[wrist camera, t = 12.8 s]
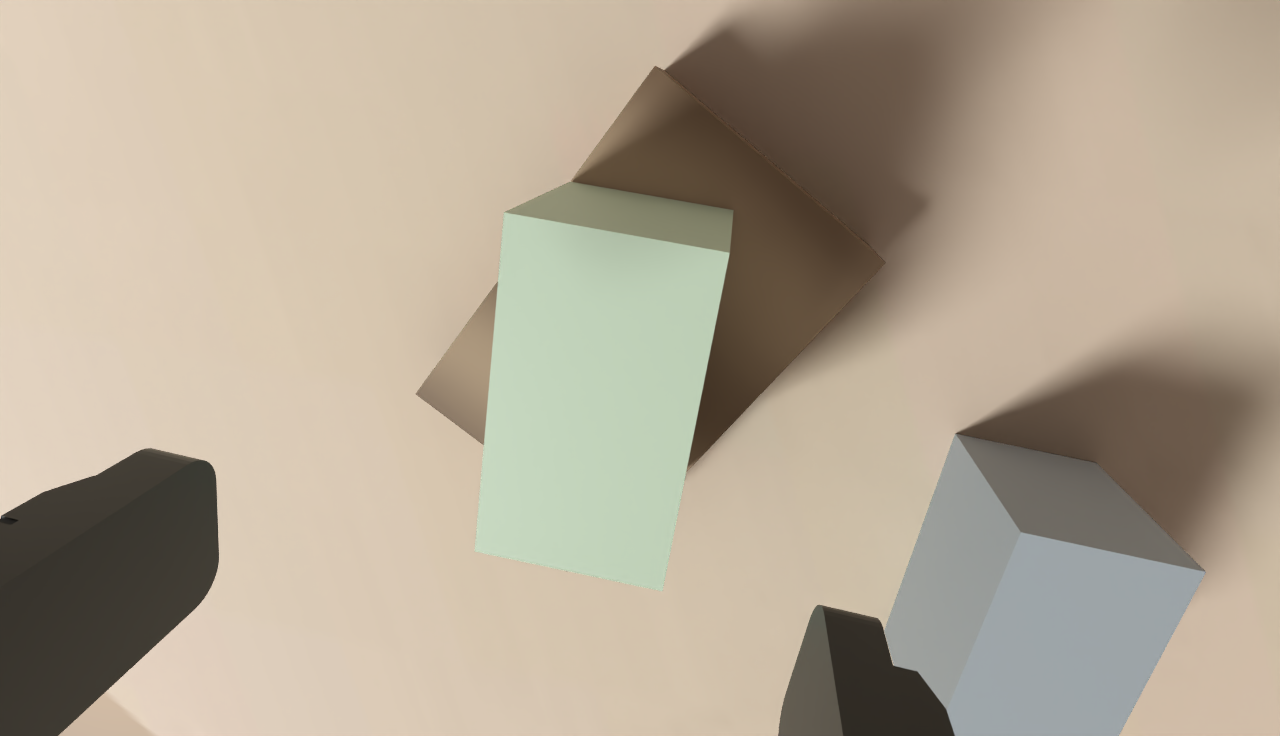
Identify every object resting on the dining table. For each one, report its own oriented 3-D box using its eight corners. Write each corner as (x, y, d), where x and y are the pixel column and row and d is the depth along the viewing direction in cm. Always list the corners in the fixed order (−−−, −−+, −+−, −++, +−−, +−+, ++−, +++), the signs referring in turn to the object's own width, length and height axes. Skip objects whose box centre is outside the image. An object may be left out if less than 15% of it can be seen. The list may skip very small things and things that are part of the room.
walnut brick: (665, 70, 22) (654, 65, 19) (867, 243, 23) (885, 262, 20) (450, 362, 26) (415, 394, 23) (629, 498, 27) (616, 545, 24)
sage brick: (570, 181, 20) (503, 212, 15) (733, 210, 20) (729, 252, 14) (540, 441, 23) (474, 551, 17) (682, 470, 23) (662, 591, 17)
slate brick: (954, 432, 24) (1021, 532, 18) (1095, 461, 24) (1205, 571, 18) (883, 629, 27) (922, 768, 21) (1008, 657, 26) (1081, 805, 21)
